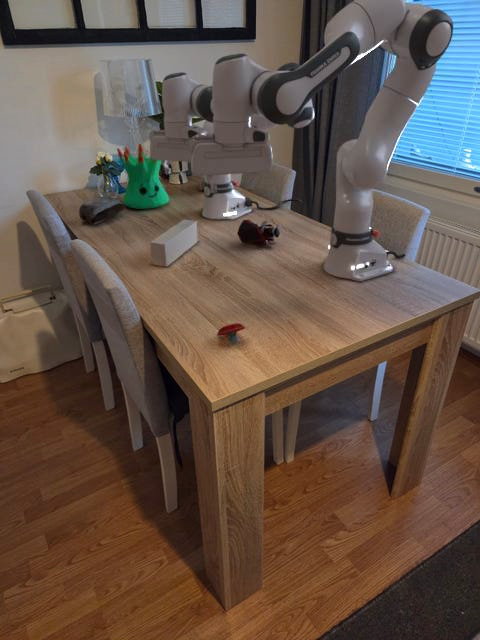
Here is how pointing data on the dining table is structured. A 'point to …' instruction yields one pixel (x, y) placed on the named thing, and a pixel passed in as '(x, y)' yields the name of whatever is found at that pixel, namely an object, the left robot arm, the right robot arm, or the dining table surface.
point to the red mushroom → (231, 331)
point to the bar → (174, 243)
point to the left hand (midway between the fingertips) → (181, 174)
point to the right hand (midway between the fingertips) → (232, 191)
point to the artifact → (202, 184)
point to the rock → (100, 209)
